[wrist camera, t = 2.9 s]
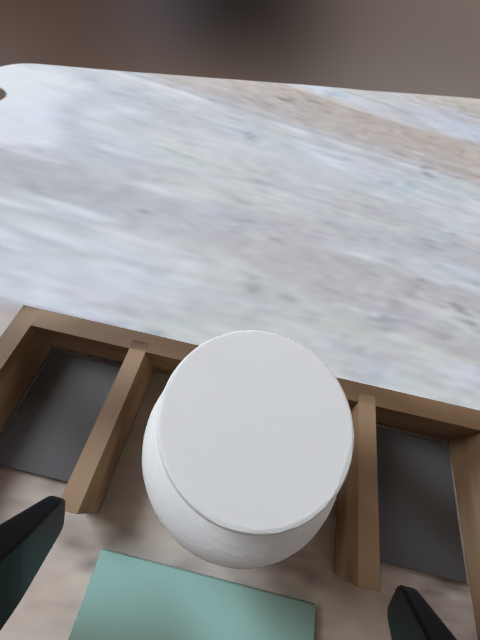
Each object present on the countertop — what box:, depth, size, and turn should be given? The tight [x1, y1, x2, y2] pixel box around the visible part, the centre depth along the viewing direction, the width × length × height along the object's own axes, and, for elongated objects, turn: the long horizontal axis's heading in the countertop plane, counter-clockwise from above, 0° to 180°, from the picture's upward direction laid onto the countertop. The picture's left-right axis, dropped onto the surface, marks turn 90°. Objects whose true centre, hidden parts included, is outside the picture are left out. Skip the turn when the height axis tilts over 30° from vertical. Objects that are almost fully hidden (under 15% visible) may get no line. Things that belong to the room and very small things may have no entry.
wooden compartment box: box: [0, 305, 480, 640], centre depth 14 cm, size 21×30×3 cm
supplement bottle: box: [142, 330, 354, 569], centre depth 12 cm, size 7×7×13 cm
